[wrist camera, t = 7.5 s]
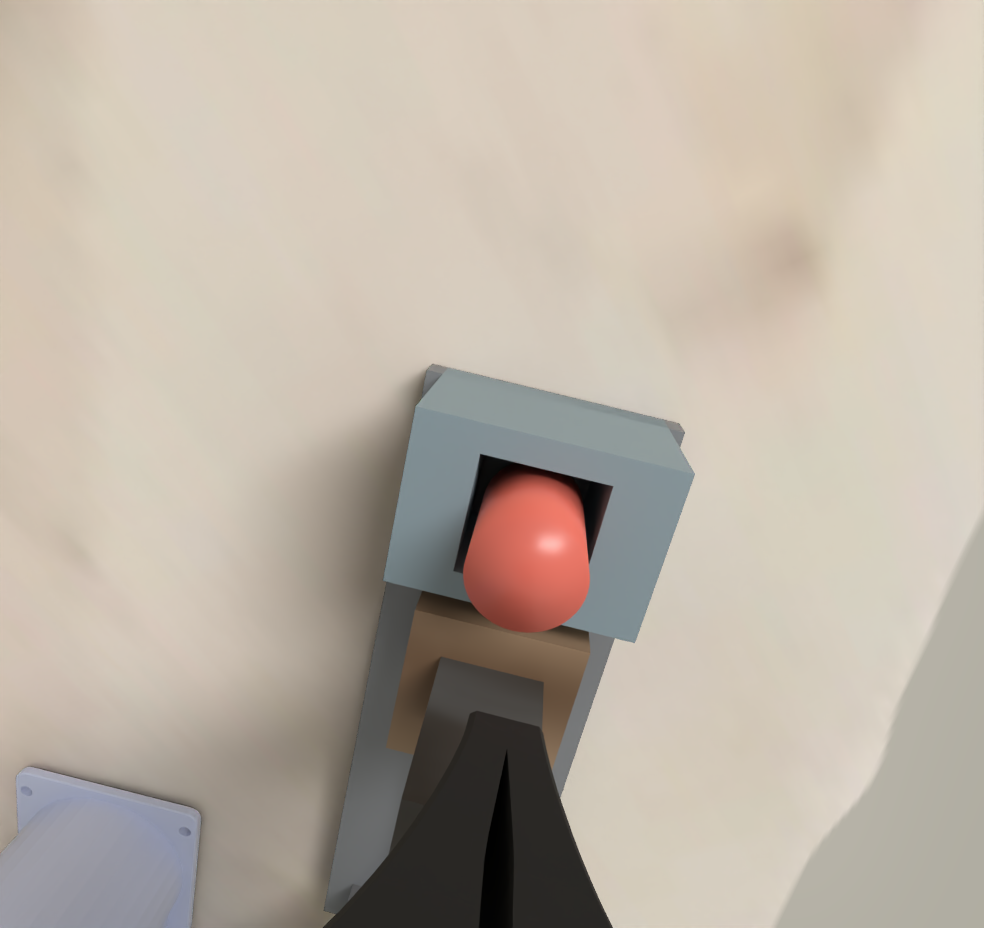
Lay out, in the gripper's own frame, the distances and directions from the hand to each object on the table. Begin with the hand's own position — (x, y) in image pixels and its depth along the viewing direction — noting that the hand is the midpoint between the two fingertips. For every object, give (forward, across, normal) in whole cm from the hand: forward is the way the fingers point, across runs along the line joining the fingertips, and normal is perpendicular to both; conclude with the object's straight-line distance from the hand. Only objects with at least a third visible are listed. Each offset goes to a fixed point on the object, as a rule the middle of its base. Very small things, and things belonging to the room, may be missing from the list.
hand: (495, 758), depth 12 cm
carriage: (+8, 0, +4) cm, 9 cm away
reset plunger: (+7, 0, -2) cm, 7 cm away
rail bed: (+10, 0, +7) cm, 13 cm away
